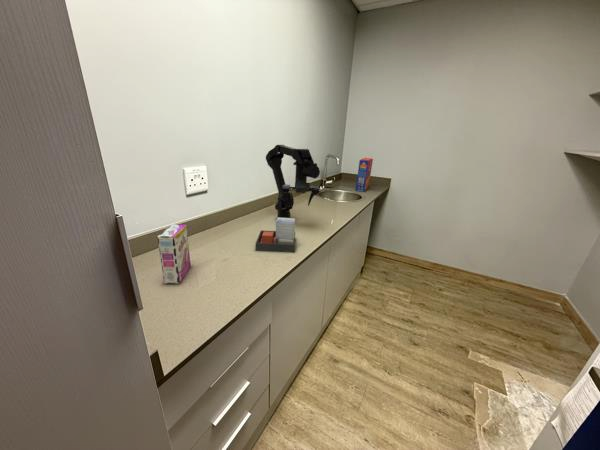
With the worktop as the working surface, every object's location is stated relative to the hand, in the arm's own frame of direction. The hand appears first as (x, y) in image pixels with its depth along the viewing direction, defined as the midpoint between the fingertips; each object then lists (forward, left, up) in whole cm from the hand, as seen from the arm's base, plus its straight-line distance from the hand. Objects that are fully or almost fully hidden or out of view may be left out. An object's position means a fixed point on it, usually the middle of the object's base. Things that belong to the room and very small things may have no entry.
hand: (299, 205), depth 126 cm
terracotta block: (0, -27, -11) cm, 29 cm away
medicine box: (+6, -23, -9) cm, 26 cm away
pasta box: (-2, +128, -12) cm, 128 cm away
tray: (+3, -25, -12) cm, 28 cm away
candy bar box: (-10, -64, -12) cm, 66 cm away
